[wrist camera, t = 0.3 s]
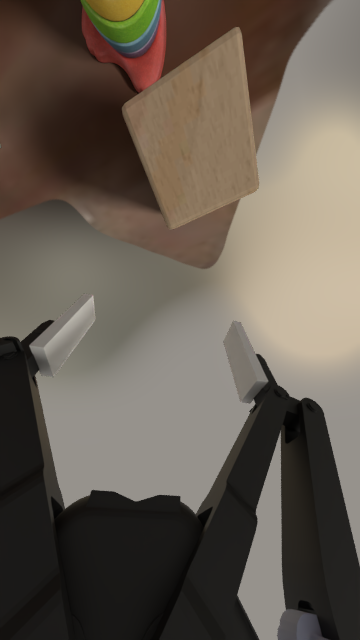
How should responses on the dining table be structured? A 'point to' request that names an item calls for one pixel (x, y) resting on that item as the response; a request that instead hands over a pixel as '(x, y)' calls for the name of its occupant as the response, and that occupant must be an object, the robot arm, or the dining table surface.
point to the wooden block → (197, 133)
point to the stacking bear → (127, 36)
